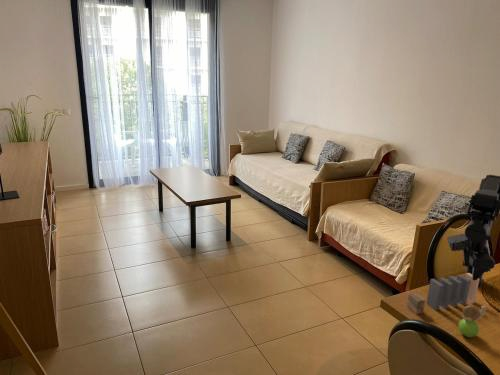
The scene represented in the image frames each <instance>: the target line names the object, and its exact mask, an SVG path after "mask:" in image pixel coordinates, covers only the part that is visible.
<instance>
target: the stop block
mask: <svg viewBox="0 0 500 375" xmlns="http://www.w3.org/2000/svg"><path fill="white" fill-rule="evenodd" d="M425 305H426V299H425V298H424V297H422V296H421V295H420V294H418V292H413V293H408V298H407V303H406V307H407V309H409V310H410V311H411V312H412V311H413V312H412V313H413V314H414V315H419V314H424V309H425Z"/></svg>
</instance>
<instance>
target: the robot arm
mask: <svg viewBox="0 0 500 375" xmlns="http://www.w3.org/2000/svg"><path fill="white" fill-rule="evenodd" d="M469 201H470V202H469V205H468V209H467V212H466V216H468V217H471V218H470V221H469V222H468V224H467V225H466V227H465V229H464V233H460V234H455V235H450V236H447V237H446V240H447V244H448V247H449V249H450V251H451V252H458V251H459V252H460V251H462V256H463V260H462V266H463V267H466V270H465V275H463V276H464V277H465V276H466V273H470V274H472V279H473V280H477V279H478V278H479V279H480V280H479V285H478V288H481V286H482V285H483V283H484V282H485V279H484V278H483V277H484V274H485V273H488V272H491V270H493V269H495V265H496V261H495V260H494V259H493V257H492V256H491V255H490V254H491V251H490V249H489V246H488V241H491V238H492V237H491V236H490V232H491V229H492V224H493V222H495V221H496V219H497V218H499V214H500V175H494V174H486V177H484V178H481V181H480V184H479V188H478V190H476V191H475V193H474V194H472V195H471V198H470V200H469Z"/></svg>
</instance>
